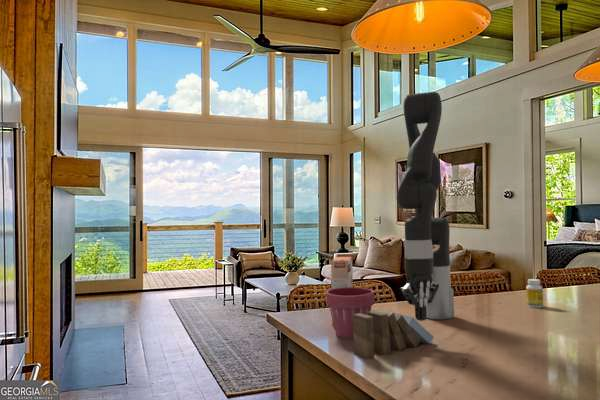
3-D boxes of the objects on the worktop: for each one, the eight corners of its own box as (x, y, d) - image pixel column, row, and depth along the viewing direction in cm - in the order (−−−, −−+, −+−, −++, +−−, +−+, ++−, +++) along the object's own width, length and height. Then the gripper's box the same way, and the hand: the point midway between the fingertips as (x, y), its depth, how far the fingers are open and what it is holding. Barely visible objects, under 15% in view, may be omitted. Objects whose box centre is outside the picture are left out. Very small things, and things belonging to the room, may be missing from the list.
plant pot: (363, 343, 130) (361, 296, 130) (318, 337, 137) (317, 293, 137) (383, 331, 142) (381, 288, 142) (341, 326, 149) (339, 285, 149)
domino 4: (406, 337, 130) (388, 311, 127) (420, 341, 125) (401, 314, 122) (401, 343, 129) (383, 317, 126) (415, 347, 124) (396, 320, 121)
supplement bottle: (530, 304, 175) (529, 278, 175) (545, 306, 171) (544, 279, 171) (524, 306, 171) (523, 280, 172) (540, 308, 167) (538, 281, 168)
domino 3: (392, 342, 127) (380, 309, 125) (405, 346, 123) (393, 312, 121) (386, 346, 126) (374, 313, 124) (400, 351, 121) (387, 316, 120)
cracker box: (350, 327, 148) (348, 260, 148) (331, 327, 149) (329, 260, 150) (354, 317, 162) (352, 256, 162) (337, 317, 163) (335, 256, 163)
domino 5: (419, 332, 132) (398, 313, 128) (433, 336, 128) (412, 317, 124) (416, 339, 132) (394, 320, 128) (430, 344, 127) (408, 324, 123)
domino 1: (360, 352, 121) (359, 313, 122) (374, 357, 117) (372, 316, 117) (354, 354, 120) (352, 314, 120) (367, 359, 116) (365, 318, 116)
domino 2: (377, 348, 124) (374, 310, 124) (391, 353, 120) (387, 313, 120) (370, 350, 123) (367, 312, 123) (384, 355, 119) (381, 315, 118)
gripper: (425, 253, 136) (427, 314, 136) (391, 257, 129) (393, 321, 129) (446, 255, 130) (448, 319, 129) (411, 258, 123) (413, 326, 122)
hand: (420, 320), depth 129 cm, fingers closed
